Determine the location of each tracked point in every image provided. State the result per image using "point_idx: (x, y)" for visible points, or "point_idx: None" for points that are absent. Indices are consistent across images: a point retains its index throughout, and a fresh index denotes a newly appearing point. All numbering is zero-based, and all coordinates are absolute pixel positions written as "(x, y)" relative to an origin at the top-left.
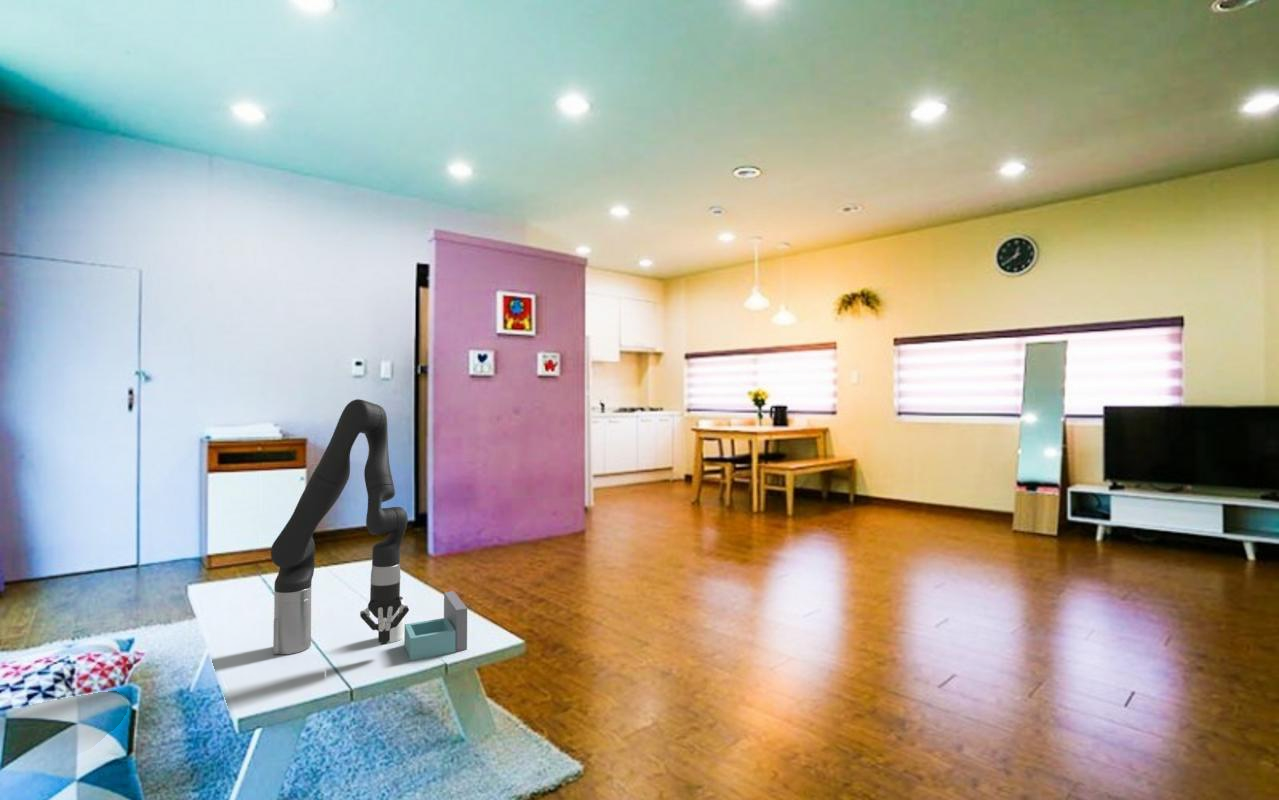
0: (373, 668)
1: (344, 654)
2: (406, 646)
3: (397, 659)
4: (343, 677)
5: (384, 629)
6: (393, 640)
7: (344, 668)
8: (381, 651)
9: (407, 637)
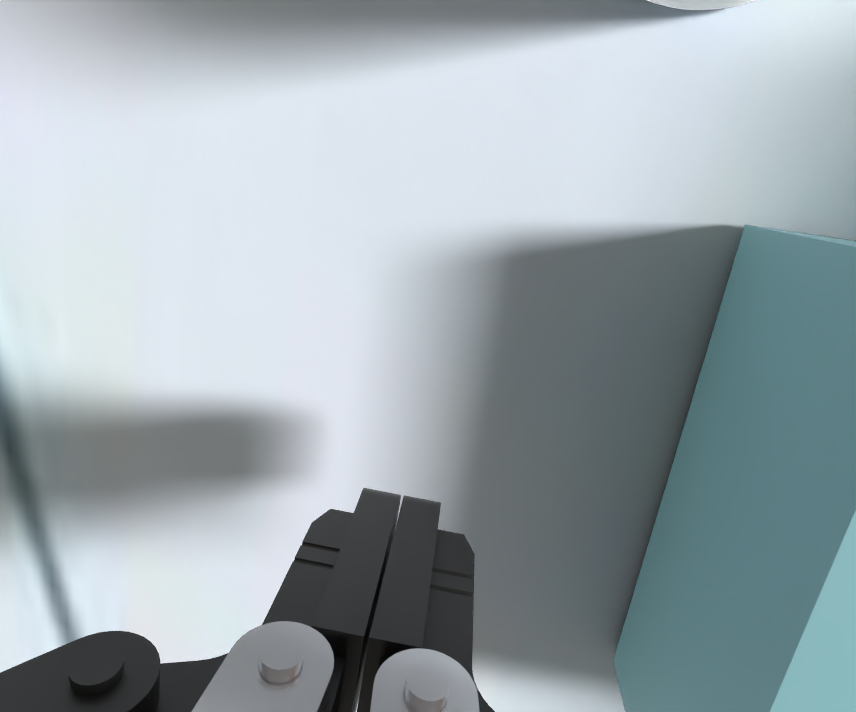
0: None
1: (64, 48)
2: (706, 423)
3: (530, 535)
4: (64, 597)
5: (367, 679)
6: (680, 4)
7: (69, 436)
8: (452, 223)
9: (739, 590)
